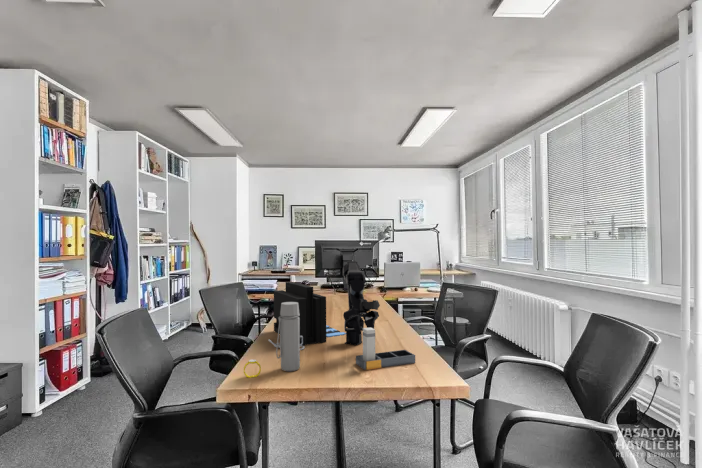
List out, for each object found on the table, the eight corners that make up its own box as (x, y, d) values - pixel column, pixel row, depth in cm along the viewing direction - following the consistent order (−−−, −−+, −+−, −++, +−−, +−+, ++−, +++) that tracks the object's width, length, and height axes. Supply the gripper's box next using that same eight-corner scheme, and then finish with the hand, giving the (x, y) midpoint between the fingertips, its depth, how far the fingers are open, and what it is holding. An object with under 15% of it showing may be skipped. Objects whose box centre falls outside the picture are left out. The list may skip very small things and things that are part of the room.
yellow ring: (260, 375, 141) (261, 359, 141) (260, 378, 138) (261, 361, 139) (243, 376, 139) (244, 359, 140) (243, 378, 137) (244, 361, 137)
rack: (364, 371, 143) (364, 362, 144) (355, 364, 151) (355, 355, 152) (415, 364, 151) (415, 355, 152) (405, 358, 159) (404, 349, 160)
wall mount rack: (309, 346, 177) (308, 334, 177) (292, 356, 165) (292, 342, 164) (280, 343, 183) (280, 330, 183) (262, 352, 171) (262, 339, 171)
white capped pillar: (362, 364, 150) (362, 328, 151) (371, 363, 152) (370, 327, 152) (367, 367, 146) (366, 330, 147) (375, 366, 148) (375, 329, 148)
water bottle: (294, 364, 152) (294, 301, 153) (303, 370, 146) (303, 303, 146) (272, 368, 147) (272, 303, 148) (280, 374, 141) (280, 306, 141)
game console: (273, 331, 209) (273, 282, 209) (324, 325, 224) (324, 278, 224) (298, 346, 178) (298, 288, 179) (354, 338, 193) (354, 284, 194)
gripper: (359, 290, 156) (369, 328, 150) (383, 294, 171) (393, 329, 164) (338, 300, 161) (347, 337, 155) (364, 303, 176) (373, 337, 169)
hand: (366, 334), depth 161 cm, fingers open, 9 cm apart
